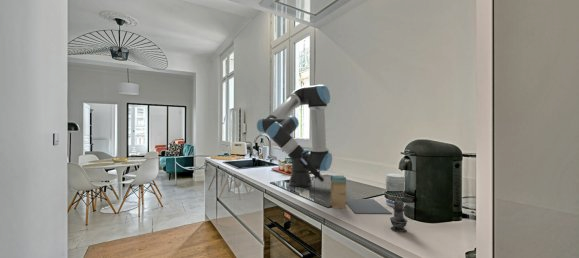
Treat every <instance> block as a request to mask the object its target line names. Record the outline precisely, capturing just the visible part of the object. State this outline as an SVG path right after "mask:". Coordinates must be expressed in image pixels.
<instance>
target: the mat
mask: <svg viewBox="0 0 579 258" xmlns="http://www.w3.org/2000/svg"><path fill="white" fill-rule="evenodd" d="M346 205H347V206H348V207H349V209H350V210H351V211H352V212H353V213H354V214H357V215H392V214H393V213H392V212H391V211H389V210H388V209H387V208H386V207H384V206H383V205H382V204H381V203H379V202H378V201H377V200H375V199H374V198H346Z"/></svg>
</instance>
